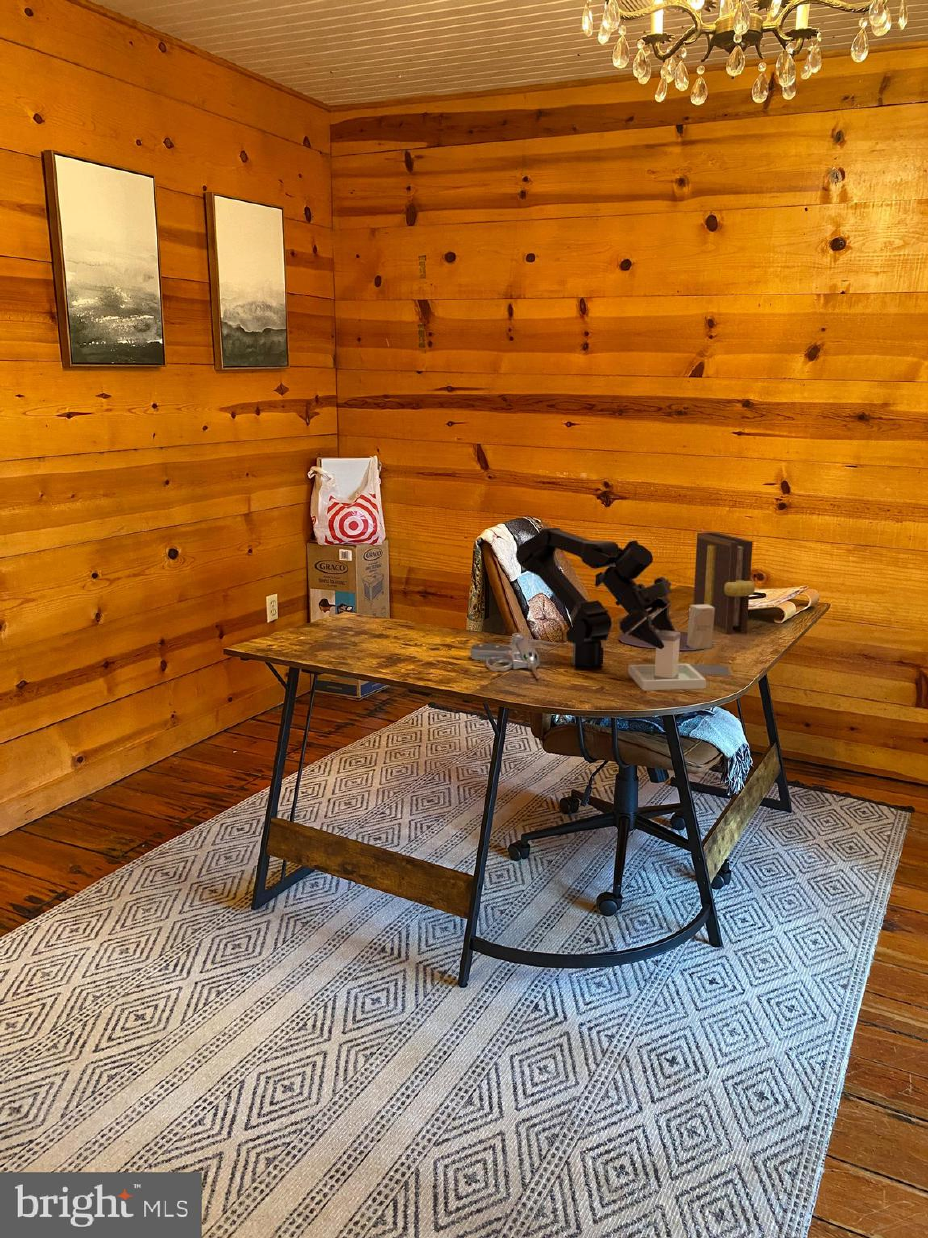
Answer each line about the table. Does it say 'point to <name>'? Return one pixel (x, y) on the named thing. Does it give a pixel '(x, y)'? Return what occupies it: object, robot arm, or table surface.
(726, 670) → the holder plate
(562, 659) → the table surface
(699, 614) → the box
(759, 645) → the table surface
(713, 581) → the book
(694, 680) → the parts tray
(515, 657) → the toy pistol
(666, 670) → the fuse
